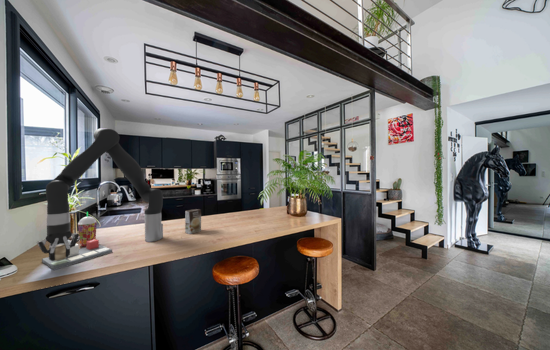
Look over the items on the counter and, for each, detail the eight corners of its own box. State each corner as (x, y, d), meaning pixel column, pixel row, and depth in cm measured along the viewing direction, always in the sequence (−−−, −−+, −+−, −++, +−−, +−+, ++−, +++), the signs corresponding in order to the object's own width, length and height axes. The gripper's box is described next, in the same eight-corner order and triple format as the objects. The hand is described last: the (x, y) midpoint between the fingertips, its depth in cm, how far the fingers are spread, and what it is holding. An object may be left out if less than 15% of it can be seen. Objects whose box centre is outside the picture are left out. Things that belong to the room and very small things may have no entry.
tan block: (64, 256, 96) (63, 244, 96) (67, 257, 94) (67, 245, 94) (52, 259, 92) (51, 246, 92) (55, 261, 91) (54, 248, 90)
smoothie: (75, 246, 117) (74, 212, 117) (92, 241, 125) (91, 210, 125) (83, 248, 114) (82, 213, 114) (100, 243, 122) (99, 211, 122)
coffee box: (189, 234, 139) (189, 211, 138) (185, 232, 142) (184, 210, 142) (201, 231, 146) (201, 209, 146) (196, 229, 150) (196, 208, 150)
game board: (98, 246, 117) (97, 236, 117) (112, 252, 109) (112, 240, 109) (41, 261, 97) (41, 249, 97) (54, 269, 89) (53, 256, 89)
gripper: (76, 218, 101) (76, 251, 101) (32, 225, 88) (34, 263, 89) (82, 220, 97) (83, 254, 98) (38, 227, 85) (39, 266, 85)
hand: (59, 258), depth 93 cm, fingers closed on tan block, 4 cm apart
